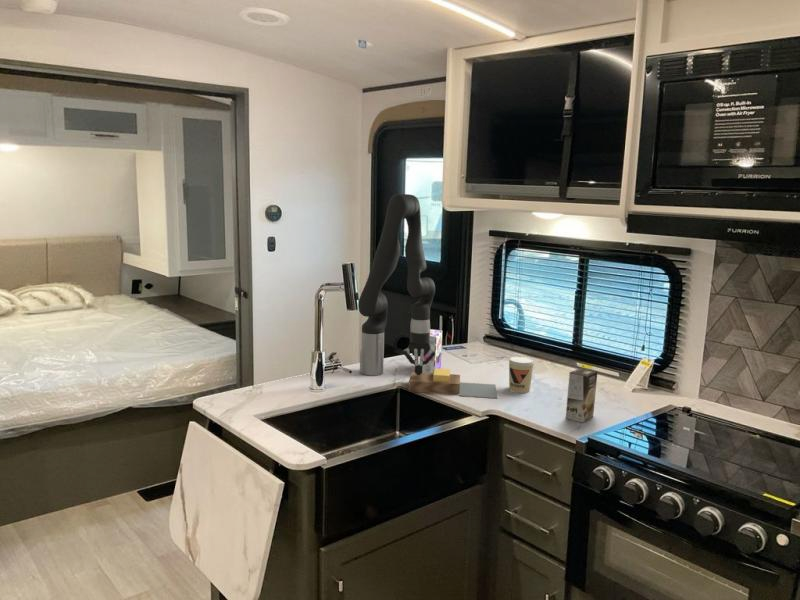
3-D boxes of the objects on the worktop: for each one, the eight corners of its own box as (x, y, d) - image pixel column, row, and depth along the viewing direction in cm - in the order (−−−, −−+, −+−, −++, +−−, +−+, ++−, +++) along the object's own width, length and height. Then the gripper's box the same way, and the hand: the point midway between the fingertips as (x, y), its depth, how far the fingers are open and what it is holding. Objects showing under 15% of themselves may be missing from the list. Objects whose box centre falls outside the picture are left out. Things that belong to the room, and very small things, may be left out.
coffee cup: (503, 391, 235) (505, 360, 233) (511, 384, 243) (513, 355, 241) (527, 395, 231) (530, 364, 229) (534, 388, 239) (536, 358, 237)
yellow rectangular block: (433, 381, 231) (433, 374, 231) (434, 374, 240) (434, 368, 240) (449, 382, 231) (449, 375, 230) (449, 375, 239) (450, 369, 239)
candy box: (434, 375, 252) (436, 336, 249) (420, 374, 253) (422, 335, 250) (441, 367, 265) (443, 329, 262) (428, 365, 266) (429, 328, 263)
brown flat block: (408, 391, 231) (408, 381, 231) (411, 381, 243) (411, 371, 242) (459, 394, 229) (459, 384, 229) (459, 384, 241) (460, 374, 240)
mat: (459, 396, 227) (459, 395, 227) (459, 383, 243) (459, 382, 243) (497, 398, 226) (497, 397, 226) (495, 385, 242) (495, 384, 242)
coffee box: (583, 423, 204) (587, 376, 202) (565, 418, 208) (568, 372, 206) (594, 416, 211) (598, 370, 209) (576, 411, 215) (580, 367, 213)
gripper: (401, 331, 230) (400, 376, 233) (437, 333, 229) (435, 378, 232) (403, 327, 237) (402, 370, 240) (437, 329, 236) (436, 372, 239)
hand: (418, 374), depth 236 cm, fingers closed
